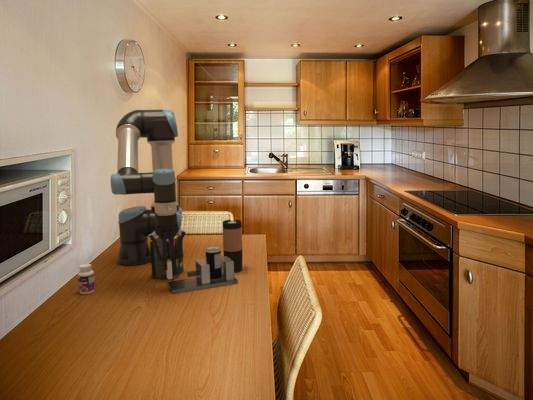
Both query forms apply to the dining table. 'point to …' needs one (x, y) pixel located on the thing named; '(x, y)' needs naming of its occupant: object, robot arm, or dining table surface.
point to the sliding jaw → (201, 272)
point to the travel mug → (233, 242)
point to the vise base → (226, 279)
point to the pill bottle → (86, 279)
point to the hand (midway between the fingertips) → (169, 277)
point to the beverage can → (214, 262)
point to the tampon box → (158, 265)
